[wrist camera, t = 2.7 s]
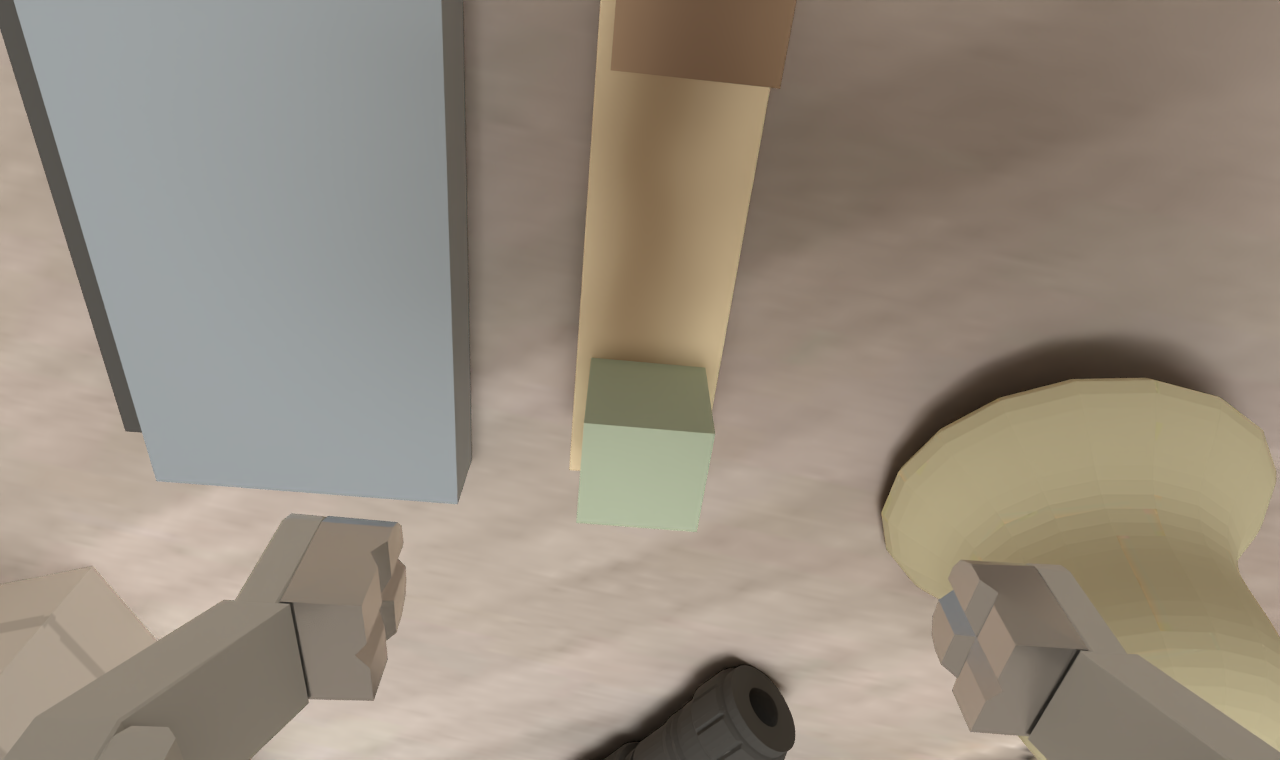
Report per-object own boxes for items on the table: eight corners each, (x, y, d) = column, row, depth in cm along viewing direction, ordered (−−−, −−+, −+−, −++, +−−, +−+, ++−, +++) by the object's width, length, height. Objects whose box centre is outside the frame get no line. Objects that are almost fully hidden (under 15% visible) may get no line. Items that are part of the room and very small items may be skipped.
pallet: (786, -141, 22) (814, -153, 18) (692, 421, 32) (699, 480, 29) (616, -162, 22) (612, -178, 18) (576, 411, 32) (569, 469, 29)
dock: (456, -322, 20) (429, -358, 17) (471, 459, 33) (457, 504, 31) (-56, -390, 19) (-163, -439, 17) (170, 435, 33) (130, 479, 30)
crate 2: (705, 367, 26) (715, 433, 23) (690, 458, 28) (696, 532, 25) (591, 357, 26) (583, 423, 23) (583, 450, 28) (576, 522, 25)
